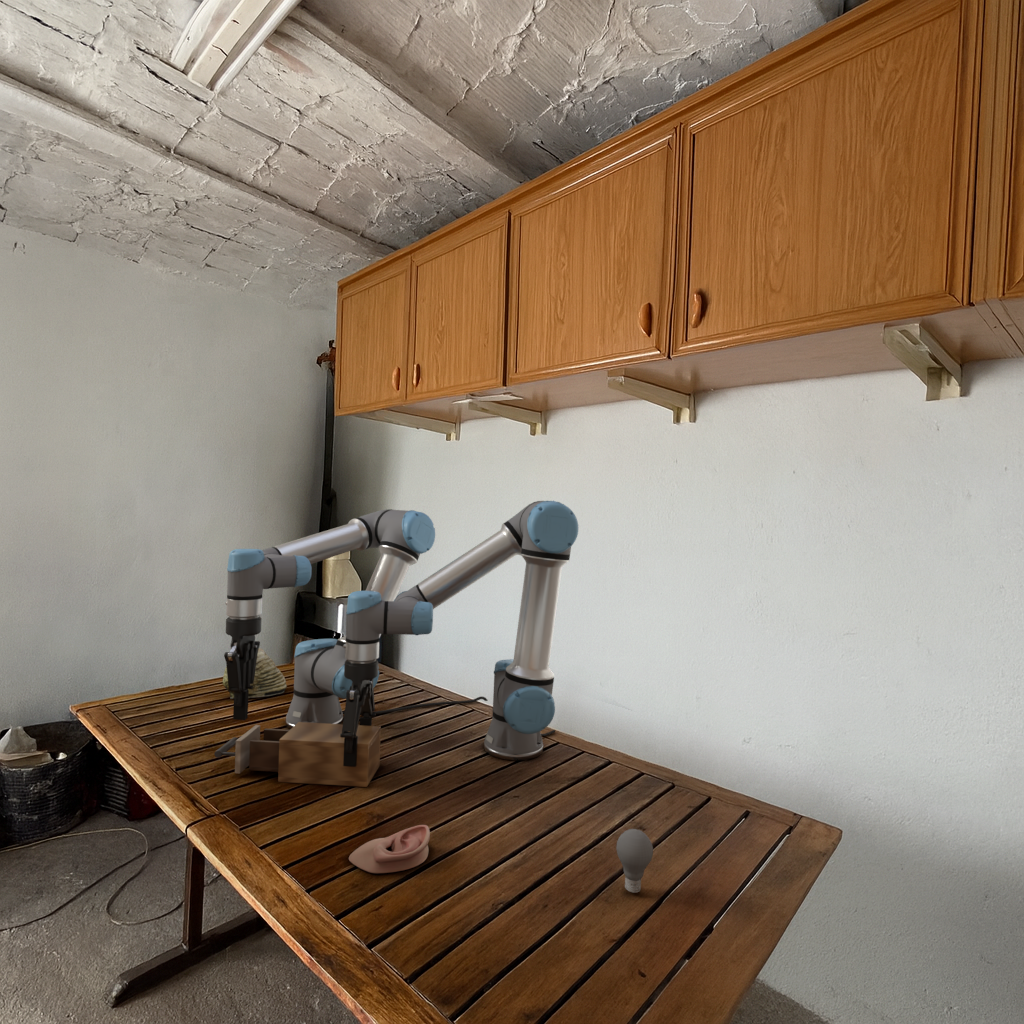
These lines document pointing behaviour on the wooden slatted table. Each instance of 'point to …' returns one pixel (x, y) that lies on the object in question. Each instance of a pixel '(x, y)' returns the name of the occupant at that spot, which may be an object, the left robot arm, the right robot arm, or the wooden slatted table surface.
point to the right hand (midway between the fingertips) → (357, 755)
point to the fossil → (263, 678)
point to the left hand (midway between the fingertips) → (240, 718)
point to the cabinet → (327, 755)
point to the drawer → (255, 750)
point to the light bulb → (634, 857)
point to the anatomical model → (393, 851)
